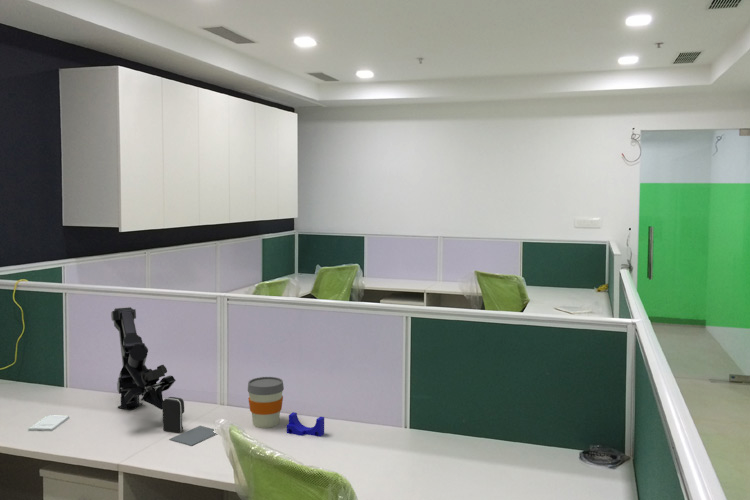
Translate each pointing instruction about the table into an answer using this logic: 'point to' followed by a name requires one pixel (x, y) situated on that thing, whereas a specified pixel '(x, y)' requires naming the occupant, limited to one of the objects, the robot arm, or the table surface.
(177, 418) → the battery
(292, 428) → the blue cradle bracket
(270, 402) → the reusable coffee cup
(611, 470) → the table surface
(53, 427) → the external hard drive
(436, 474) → the table surface
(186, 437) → the mat
